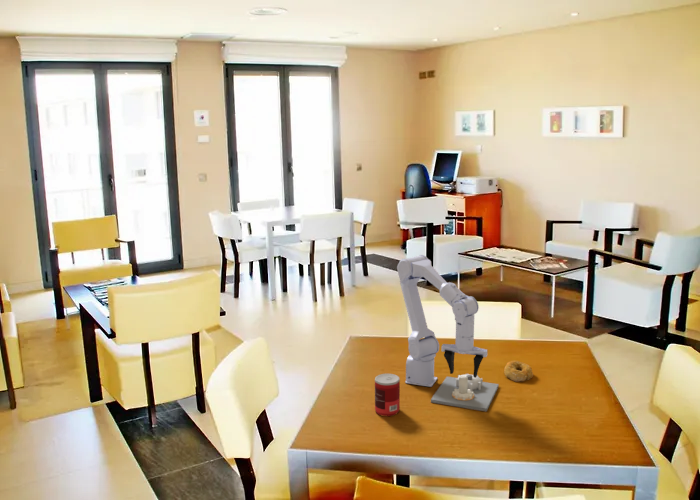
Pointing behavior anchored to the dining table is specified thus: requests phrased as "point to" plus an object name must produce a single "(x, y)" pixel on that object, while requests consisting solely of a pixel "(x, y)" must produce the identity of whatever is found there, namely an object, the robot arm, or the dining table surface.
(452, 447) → the dining table surface
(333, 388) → the dining table surface
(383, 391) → the canned food
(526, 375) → the bagel
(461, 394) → the planet gear
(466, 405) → the plate
